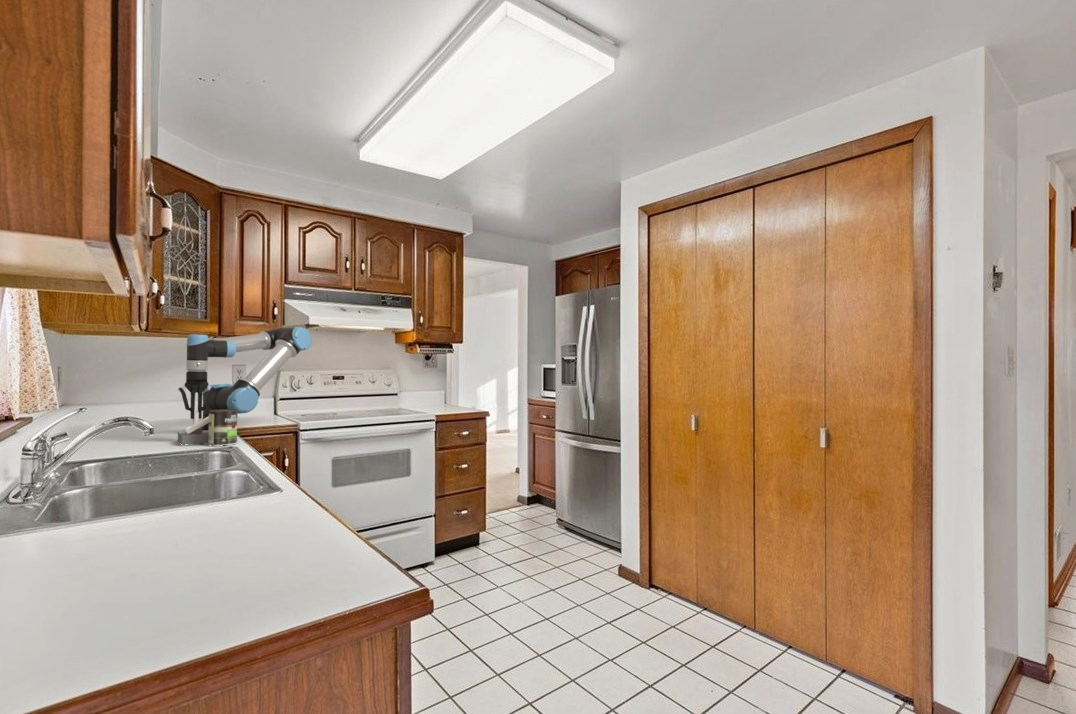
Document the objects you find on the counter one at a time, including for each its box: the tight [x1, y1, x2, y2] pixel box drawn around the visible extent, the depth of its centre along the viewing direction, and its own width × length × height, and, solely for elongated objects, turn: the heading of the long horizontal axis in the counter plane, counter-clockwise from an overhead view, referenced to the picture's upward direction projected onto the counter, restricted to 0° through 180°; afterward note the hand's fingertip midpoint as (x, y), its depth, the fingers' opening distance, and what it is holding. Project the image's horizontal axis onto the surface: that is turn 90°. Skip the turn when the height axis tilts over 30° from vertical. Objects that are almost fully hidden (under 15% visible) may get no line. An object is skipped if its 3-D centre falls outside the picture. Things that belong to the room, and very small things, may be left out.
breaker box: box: [177, 428, 209, 446], centre depth 219 cm, size 13×12×6 cm
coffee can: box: [207, 409, 238, 447], centre depth 214 cm, size 10×10×14 cm
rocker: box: [183, 416, 209, 434], centre depth 217 cm, size 4×10×2 cm, turn 131°
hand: (195, 426), depth 221 cm, fingers closed
